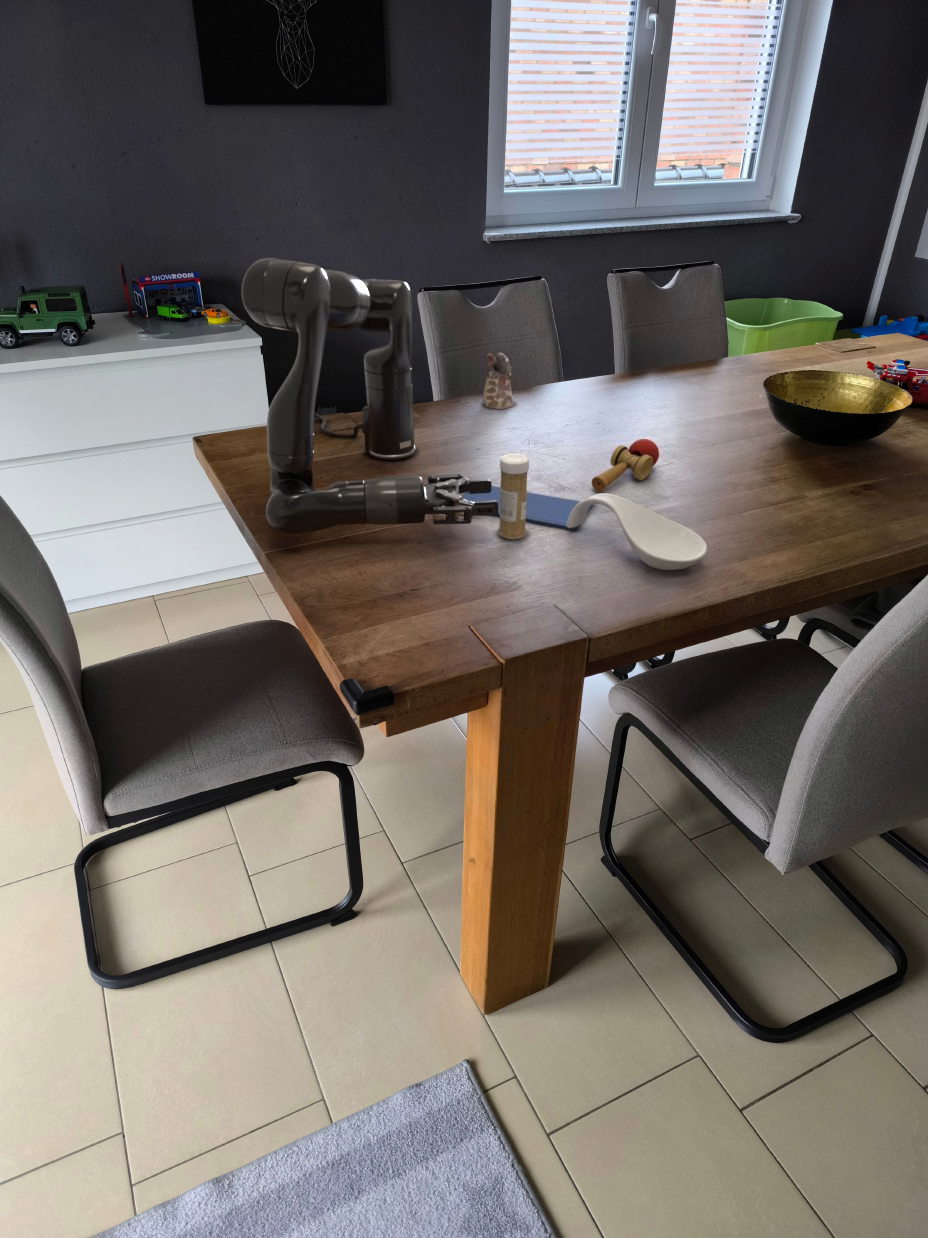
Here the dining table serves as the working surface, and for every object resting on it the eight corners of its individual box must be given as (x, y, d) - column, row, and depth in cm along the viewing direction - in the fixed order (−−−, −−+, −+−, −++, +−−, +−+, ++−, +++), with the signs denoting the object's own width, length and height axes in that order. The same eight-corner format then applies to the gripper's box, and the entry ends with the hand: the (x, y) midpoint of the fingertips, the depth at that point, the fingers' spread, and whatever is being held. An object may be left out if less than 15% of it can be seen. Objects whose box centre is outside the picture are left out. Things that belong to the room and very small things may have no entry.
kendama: (619, 504, 152) (671, 464, 162) (614, 472, 149) (667, 433, 158) (584, 499, 157) (637, 461, 167) (579, 468, 154) (633, 431, 164)
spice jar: (531, 536, 138) (534, 459, 131) (509, 542, 136) (511, 465, 129) (514, 525, 141) (517, 450, 134) (492, 532, 139) (494, 456, 132)
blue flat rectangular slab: (444, 506, 148) (444, 503, 148) (469, 484, 157) (469, 481, 156) (573, 530, 140) (574, 527, 140) (592, 505, 148) (593, 502, 148)
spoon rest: (716, 561, 131) (725, 520, 127) (678, 589, 123) (686, 546, 119) (592, 514, 144) (596, 475, 140) (551, 537, 136) (554, 496, 132)
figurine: (513, 409, 194) (515, 356, 188) (483, 408, 194) (483, 356, 188) (512, 399, 200) (514, 348, 194) (482, 399, 200) (483, 348, 194)
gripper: (394, 497, 125) (501, 492, 127) (391, 462, 137) (489, 458, 139) (396, 541, 129) (500, 536, 131) (393, 503, 141) (488, 499, 143)
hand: (494, 496), depth 135 cm, fingers open, 8 cm apart
